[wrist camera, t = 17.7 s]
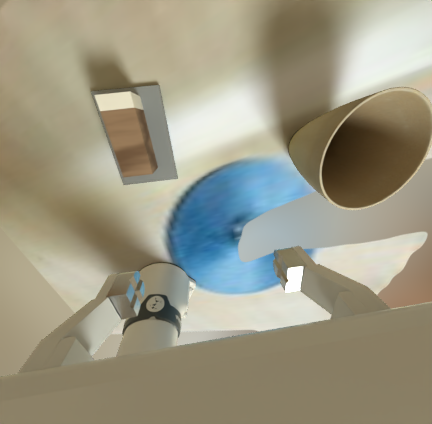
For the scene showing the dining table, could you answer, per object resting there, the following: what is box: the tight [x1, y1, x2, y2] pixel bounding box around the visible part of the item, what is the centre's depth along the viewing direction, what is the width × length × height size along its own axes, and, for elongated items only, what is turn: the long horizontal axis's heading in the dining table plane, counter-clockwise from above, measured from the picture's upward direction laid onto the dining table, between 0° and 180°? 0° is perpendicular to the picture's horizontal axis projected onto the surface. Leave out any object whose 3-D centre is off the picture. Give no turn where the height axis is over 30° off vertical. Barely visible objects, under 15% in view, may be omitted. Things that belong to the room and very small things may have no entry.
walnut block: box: [94, 91, 158, 178], centre depth 30 cm, size 5×5×12 cm
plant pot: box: [289, 87, 432, 210], centre depth 29 cm, size 15×15×16 cm
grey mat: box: [91, 85, 178, 185], centre depth 32 cm, size 16×11×1 cm
